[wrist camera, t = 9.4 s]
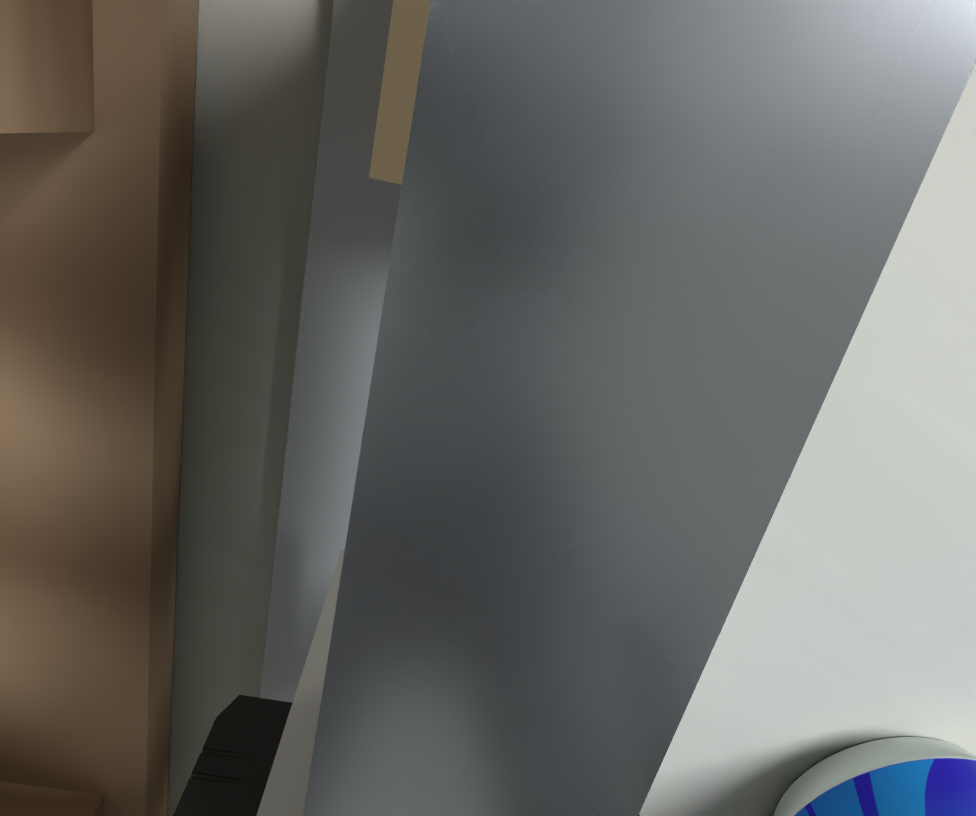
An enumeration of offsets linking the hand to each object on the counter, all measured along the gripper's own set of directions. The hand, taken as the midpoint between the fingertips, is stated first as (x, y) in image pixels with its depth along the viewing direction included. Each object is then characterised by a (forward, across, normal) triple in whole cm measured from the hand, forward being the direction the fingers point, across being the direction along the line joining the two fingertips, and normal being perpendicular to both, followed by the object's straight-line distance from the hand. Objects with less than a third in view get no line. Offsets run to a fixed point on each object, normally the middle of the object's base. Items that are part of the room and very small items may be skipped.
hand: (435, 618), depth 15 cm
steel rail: (-3, 0, 0) cm, 3 cm away
